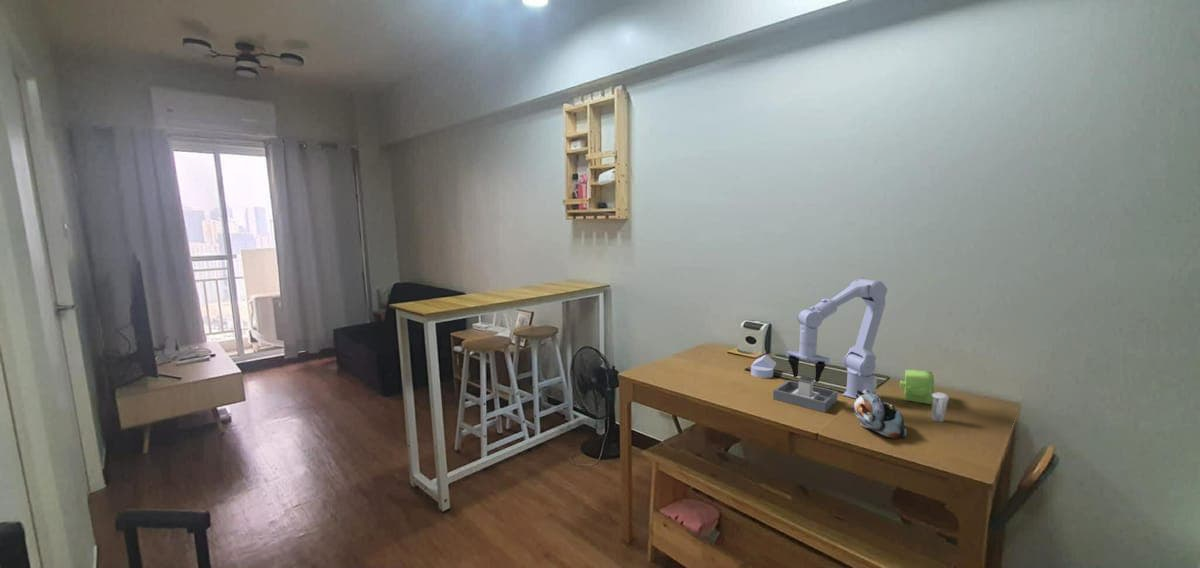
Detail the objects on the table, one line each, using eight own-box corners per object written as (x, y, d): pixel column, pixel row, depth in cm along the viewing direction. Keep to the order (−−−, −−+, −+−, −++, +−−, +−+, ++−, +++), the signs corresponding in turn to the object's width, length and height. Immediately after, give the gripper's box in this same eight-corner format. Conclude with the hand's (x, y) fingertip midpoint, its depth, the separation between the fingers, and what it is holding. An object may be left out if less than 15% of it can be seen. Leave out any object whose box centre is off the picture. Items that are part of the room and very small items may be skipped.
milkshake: (927, 414, 155) (929, 386, 154) (946, 419, 152) (949, 390, 150) (925, 419, 152) (928, 390, 150) (946, 423, 148) (949, 394, 147)
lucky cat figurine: (909, 443, 136) (891, 405, 133) (865, 448, 143) (847, 412, 140) (905, 411, 147) (888, 376, 145) (864, 417, 154) (847, 383, 152)
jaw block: (812, 396, 169) (814, 378, 168) (809, 400, 166) (810, 381, 165) (801, 394, 172) (802, 376, 171) (797, 397, 169) (798, 379, 168)
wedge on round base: (755, 367, 206) (748, 376, 195) (755, 352, 205) (749, 360, 194) (776, 370, 201) (771, 379, 190) (776, 355, 200) (771, 364, 189)
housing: (837, 400, 168) (837, 391, 167) (824, 412, 158) (825, 403, 157) (787, 388, 180) (788, 380, 179) (773, 399, 170) (773, 390, 169)
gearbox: (899, 388, 180) (899, 364, 180) (930, 391, 175) (930, 367, 174) (900, 403, 165) (900, 377, 164) (933, 407, 160) (934, 381, 159)
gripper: (783, 341, 168) (782, 377, 170) (825, 349, 158) (823, 386, 160) (791, 337, 173) (789, 372, 175) (832, 344, 163) (830, 381, 165)
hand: (806, 378), depth 168 cm, fingers open, 7 cm apart
